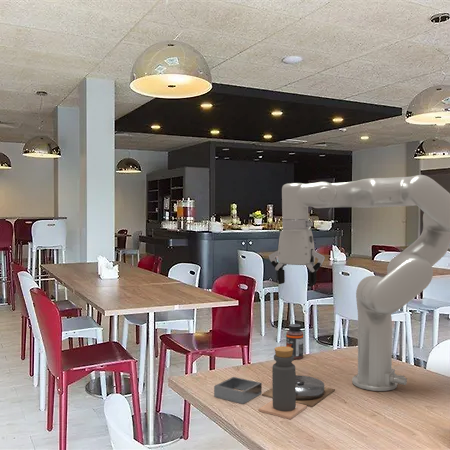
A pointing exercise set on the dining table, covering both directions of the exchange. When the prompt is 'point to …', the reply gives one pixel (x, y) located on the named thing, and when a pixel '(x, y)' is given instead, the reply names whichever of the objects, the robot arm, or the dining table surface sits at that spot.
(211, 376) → the dining table surface
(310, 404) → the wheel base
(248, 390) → the collar
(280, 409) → the bottle
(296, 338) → the supplement bottle
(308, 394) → the handwheel
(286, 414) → the pad
